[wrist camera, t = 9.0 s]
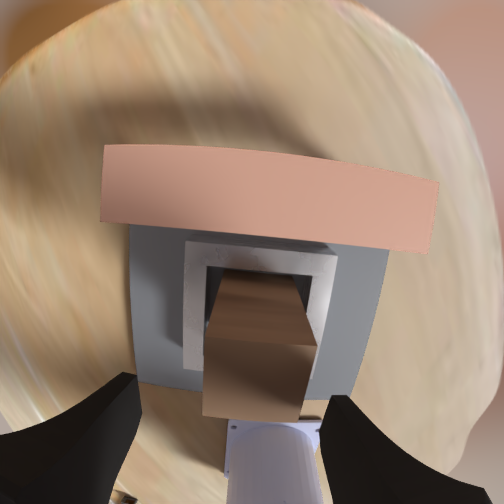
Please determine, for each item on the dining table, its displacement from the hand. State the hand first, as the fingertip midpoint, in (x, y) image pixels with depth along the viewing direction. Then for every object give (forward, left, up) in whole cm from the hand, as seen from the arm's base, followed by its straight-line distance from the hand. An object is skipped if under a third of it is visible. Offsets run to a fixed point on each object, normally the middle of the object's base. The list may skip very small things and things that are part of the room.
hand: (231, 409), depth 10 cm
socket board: (+1, -1, -10) cm, 10 cm away
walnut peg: (+1, -1, -9) cm, 9 cm away
